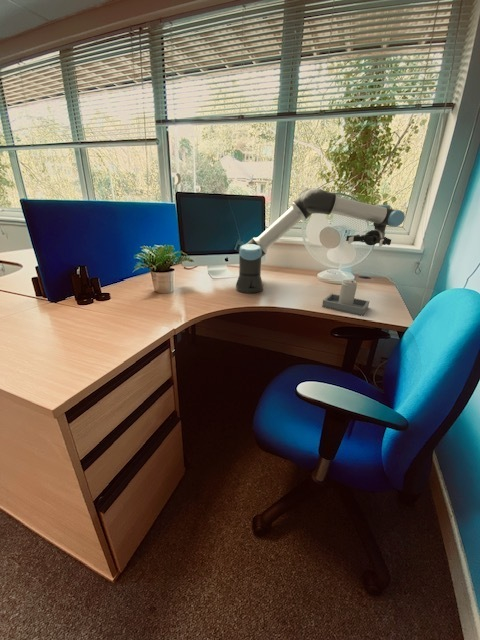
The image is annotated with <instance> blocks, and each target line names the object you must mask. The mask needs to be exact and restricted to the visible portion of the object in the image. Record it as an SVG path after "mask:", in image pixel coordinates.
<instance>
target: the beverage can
mask: <svg viewBox="0 0 480 640" xmlns="http://www.w3.org/2000/svg"><path fill="white" fill-rule="evenodd" d="M357 286H358V285H357V281H356V280H352V279H344V280H342V283H341V286H340V291H339V295H340V297H339V302H338V303H341V304H346V305H351V306H353V302H354V298H355V295H356V291H357Z"/></svg>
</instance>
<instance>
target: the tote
mask: <svg viewBox="0 0 480 640" xmlns="http://www.w3.org/2000/svg"><path fill="white" fill-rule="evenodd" d="M339 297H340V294H335V293H330V294H329V295H328V296H326V297H325V298H324V299H323V300H322V304H321V307H323V308H325V307H326V308H325V309H330V308H331V310H334V309H335V311H339V312H344V313H347V312H348V314H353V315H356V314H357V316H361V315H362V316H361V317H363V316H364V315H365V313H366V312H367V310H368V309H369V305H370V300H365V299H361V298H357V297H356V298H355V297H354V302H353V306H351V305H346V304H341V303H338V302H339Z"/></svg>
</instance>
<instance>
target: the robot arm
mask: <svg viewBox="0 0 480 640" xmlns="http://www.w3.org/2000/svg"><path fill="white" fill-rule="evenodd" d="M313 214H323V215H328V216H329V215H331V214H333V215H338V216H342V217H343V216H344V217H347V218H353V219H357V220H360V221H366V222H371V223H372V222H374V226H375V230H371V231H370V230H369V231H367V232H365V234H362V235H360V234H353V235H347V236H346V239H345V241H346V242H347V243H348V244H349V245H351V244H352V243H353V242H354V243H355V242H360V243H365V244H366V245H367V246H375V245H377V244H378V247H379V248H380V247H382V246H390V245H391V243H392V239H391V238H388V237H386V236H385V235H386V229H387V226H388V227H394V228H395V227H399V226H401V225H402V224H403V223H404V221H405V220H406V219H405V218H406V215H405V213H404V211H402V210H400V209H393V208H391V205H389V204H376V205H375V204H370V203H368V202H367V203H366V202H362V201H357V200H353V199H350V198H349V199H348V198H344V197H339V196H338V195H337V194H336V193H335V192H334V193H333V192H330V191H327V190H324V189H321V188H317V187H313V188H306V189H304V190H303V191H301V192H300V194H299V195H298V196H297V197H296V198H295V199H294V200H293V201H292V202H291V206H290V208H288V209H287V210H286V211H285V212H284V213H283V214H282V215H281V216H280V217H279V218H277V219H276V220H275V221H274V222H273V223H271V225H270V226H269V227H268V228H266V229H265V230H263V232H261V234H260V235H259V236H257V237H252V238H251V239H250V240H249V241H248V242H246V243H244V244H242V245H240V247H239V251H238V253H239V255H238V256H239V263H238V264H239V265H238V266H239V267H238V269H239V270H238V272H239V273H238V274H239V275H238V278H237V279H236V280H237V281H236V283H235V284H236V285H235V290H236V289H237V290H236V291H237V292H240V293H244V294H245V293H246V294H256V293H261V292H262V291H263V290H264V282H263V280H262V276H261V271H262V258H263V257H265V255H266V254H267V252H268V249H269V248H270V247H272V246H273V245H274V244H275V243H276V242H277V241H278V240H279V239H281V238H282V237H283V236H284V235H286V233H287V232H289V231H290V230H291V229H292V228H293V227H294V226H296V225H297V224H298V223H299V222H300V221H302V220H304V221H305V220H307V219H308V218H309V217H310V216H312V215H313Z"/></svg>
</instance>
